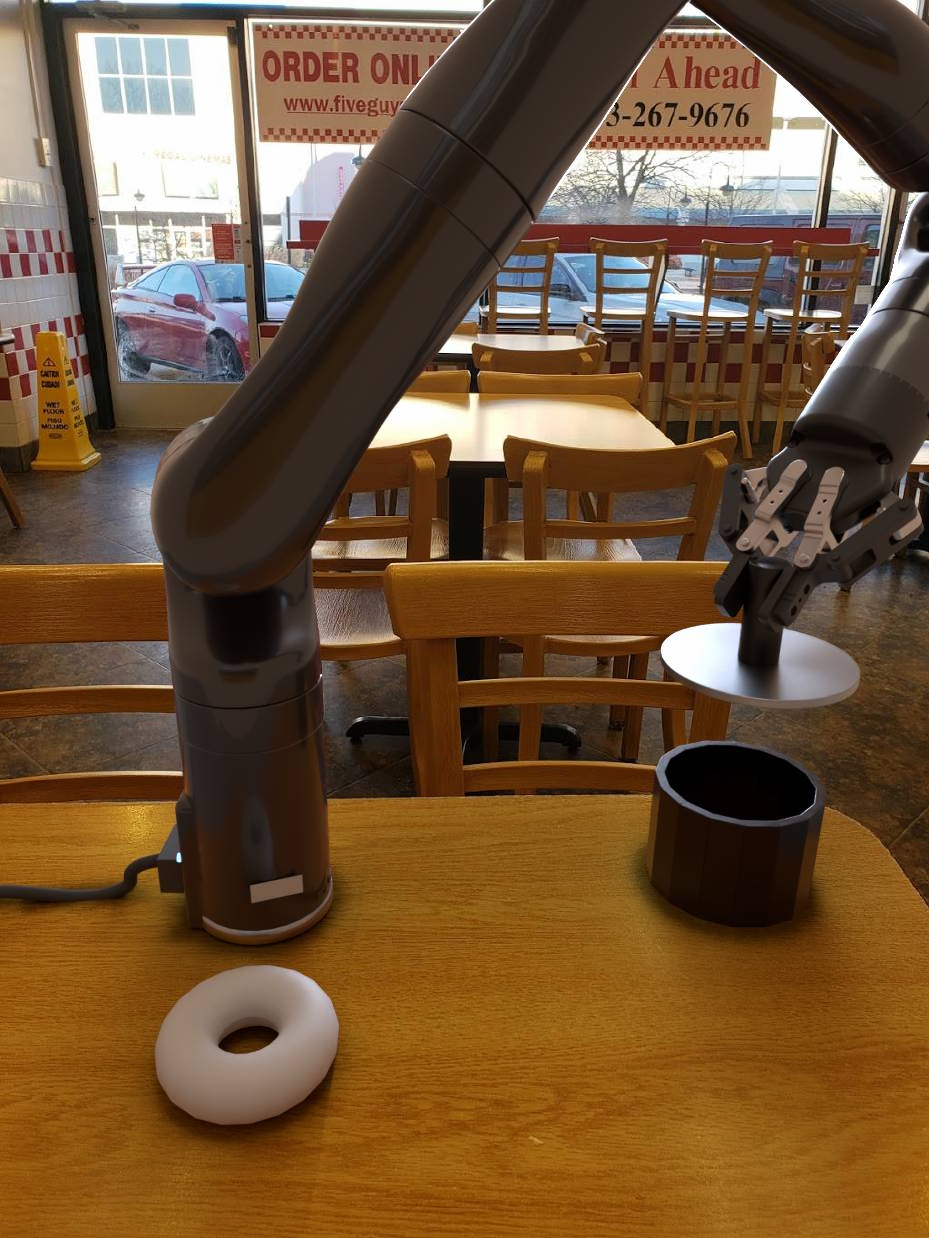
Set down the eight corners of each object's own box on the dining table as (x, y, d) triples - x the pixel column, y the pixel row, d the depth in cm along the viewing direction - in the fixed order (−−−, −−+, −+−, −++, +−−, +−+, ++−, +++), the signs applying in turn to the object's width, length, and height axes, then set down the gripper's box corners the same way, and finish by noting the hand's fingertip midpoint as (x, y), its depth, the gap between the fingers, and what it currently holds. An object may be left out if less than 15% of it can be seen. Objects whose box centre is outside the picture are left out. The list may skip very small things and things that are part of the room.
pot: (662, 932, 63) (674, 825, 60) (634, 835, 74) (643, 739, 71) (831, 935, 63) (852, 827, 60) (779, 837, 74) (794, 741, 71)
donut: (316, 1150, 48) (356, 1002, 57) (313, 1101, 46) (354, 957, 56) (127, 1132, 49) (196, 988, 58) (118, 1083, 47) (191, 944, 56)
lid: (679, 717, 56) (692, 595, 53) (644, 637, 67) (653, 533, 64) (890, 720, 55) (913, 597, 53) (818, 639, 67) (834, 535, 64)
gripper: (766, 352, 64) (633, 558, 61) (978, 372, 54) (830, 620, 51) (799, 423, 69) (678, 616, 66) (999, 453, 59) (865, 683, 56)
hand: (745, 616), depth 58 cm, fingers closed on lid, 2 cm apart
